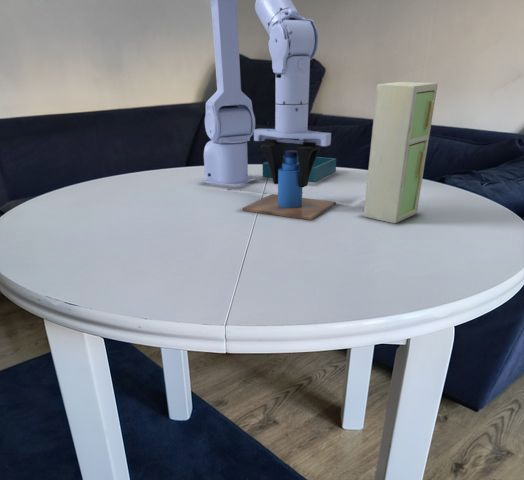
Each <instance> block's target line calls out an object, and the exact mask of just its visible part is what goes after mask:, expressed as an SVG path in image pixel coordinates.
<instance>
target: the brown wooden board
mask: <svg viewBox="0 0 524 480" xmlns="http://www.w3.org/2000/svg"><path fill="white" fill-rule="evenodd" d="M335 205H336V201H332V200H324V199H314V198H307V197H302V206H300V207H296V208H284V207H280V206H278V194H274V193H272V194H270V195H267V196H265V197H263V198H261V199H259V200H257V201H255V202H253V203H251V204H248V205H246V206H244V207H242V211H243V212H249V213H250V212H251V213H255V214H256V213H257V214H264V215H271V216H278V217H285V218H292V219H299V220H307V221H312V220H314V219H315V218H317V217H318V216H320V215H321V214H323V213H325V212H326V211H327V210H329V209H331V208H332V207H334V206H335Z"/></svg>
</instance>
